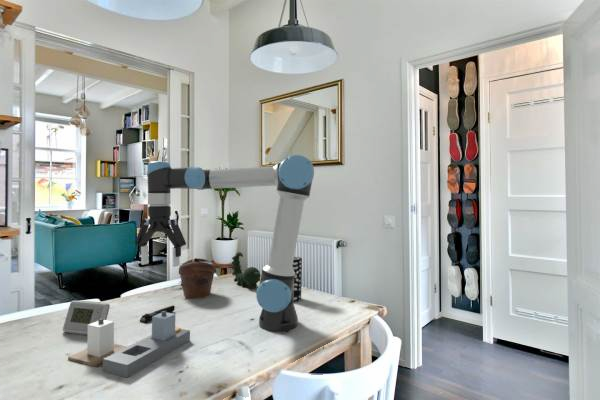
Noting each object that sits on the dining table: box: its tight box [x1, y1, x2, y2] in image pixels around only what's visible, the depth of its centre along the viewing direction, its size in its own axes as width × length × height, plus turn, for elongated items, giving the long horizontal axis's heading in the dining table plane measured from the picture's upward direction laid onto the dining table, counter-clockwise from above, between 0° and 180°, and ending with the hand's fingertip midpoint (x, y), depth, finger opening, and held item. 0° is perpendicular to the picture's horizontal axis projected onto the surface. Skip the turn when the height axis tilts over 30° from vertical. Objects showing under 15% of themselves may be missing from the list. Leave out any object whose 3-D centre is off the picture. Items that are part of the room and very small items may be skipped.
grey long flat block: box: [102, 326, 191, 379], centre depth 107 cm, size 9×26×4 cm, turn 159°
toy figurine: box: [231, 251, 261, 289], centre depth 190 cm, size 9×19×25 cm
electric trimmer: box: [139, 305, 175, 324], centre depth 140 cm, size 4×16×3 cm, turn 152°
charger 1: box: [86, 318, 115, 357], centre depth 106 cm, size 5×5×10 cm
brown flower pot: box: [178, 257, 217, 299], centre depth 172 cm, size 18×20×18 cm
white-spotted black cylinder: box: [292, 256, 303, 303], centre depth 166 cm, size 8×8×20 cm
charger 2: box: [151, 311, 176, 341], centre depth 112 cm, size 5×5×10 cm
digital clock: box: [62, 300, 111, 336], centre depth 123 cm, size 16×9×11 cm, turn 67°
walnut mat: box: [67, 343, 128, 368], centre depth 106 cm, size 12×12×1 cm
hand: (160, 265), depth 122 cm, fingers open, 13 cm apart
